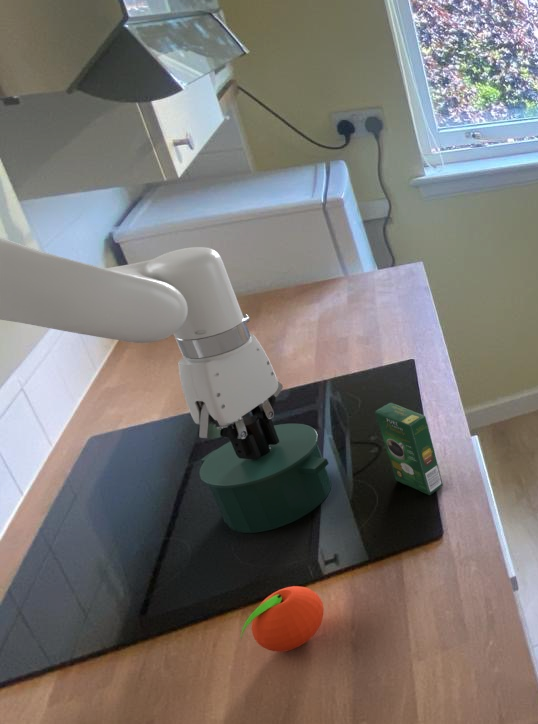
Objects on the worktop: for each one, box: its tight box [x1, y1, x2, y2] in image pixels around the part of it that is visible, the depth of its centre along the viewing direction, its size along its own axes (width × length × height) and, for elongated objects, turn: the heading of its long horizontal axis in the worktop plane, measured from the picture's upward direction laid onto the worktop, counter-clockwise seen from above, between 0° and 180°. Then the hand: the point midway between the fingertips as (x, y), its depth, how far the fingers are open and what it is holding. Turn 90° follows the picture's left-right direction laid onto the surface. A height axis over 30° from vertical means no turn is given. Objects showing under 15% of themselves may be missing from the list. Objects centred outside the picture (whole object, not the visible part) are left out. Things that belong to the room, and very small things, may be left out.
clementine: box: [240, 585, 325, 652], centre depth 85 cm, size 8×7×7 cm
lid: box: [199, 415, 319, 488], centre depth 105 cm, size 14×14×7 cm
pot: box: [200, 443, 332, 534], centre depth 108 cm, size 13×19×8 cm
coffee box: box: [374, 402, 444, 496], centre depth 109 cm, size 8×3×13 cm, turn 63°
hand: (259, 449), depth 105 cm, fingers closed on lid, 2 cm apart
